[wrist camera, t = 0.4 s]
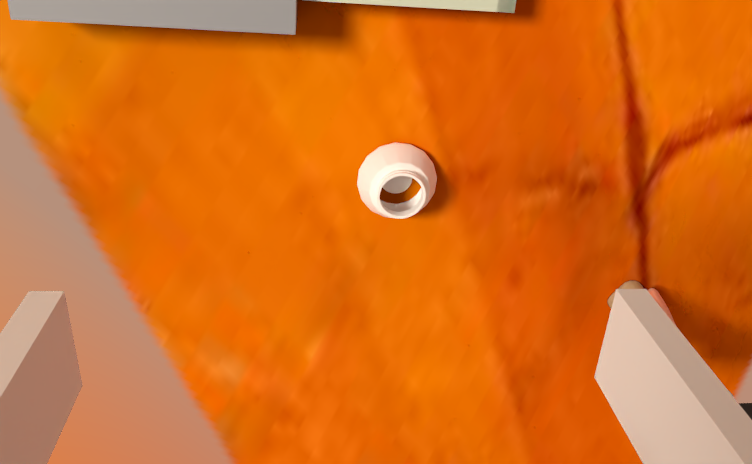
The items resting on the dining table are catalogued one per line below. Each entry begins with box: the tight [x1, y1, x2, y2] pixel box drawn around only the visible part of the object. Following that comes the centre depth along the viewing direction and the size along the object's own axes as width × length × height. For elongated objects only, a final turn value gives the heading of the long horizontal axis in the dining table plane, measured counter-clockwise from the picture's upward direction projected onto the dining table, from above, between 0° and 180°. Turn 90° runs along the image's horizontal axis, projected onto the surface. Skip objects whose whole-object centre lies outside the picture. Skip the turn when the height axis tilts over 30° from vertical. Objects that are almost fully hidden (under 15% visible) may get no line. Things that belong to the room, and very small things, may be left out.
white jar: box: [357, 143, 437, 219], centre depth 42 cm, size 5×3×5 cm
